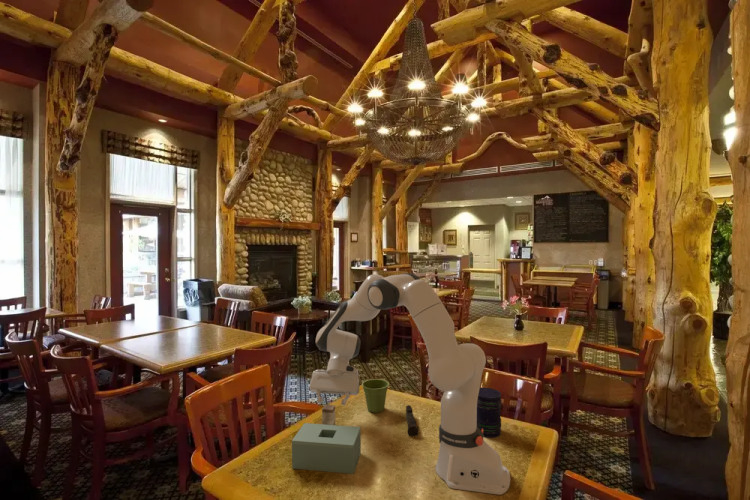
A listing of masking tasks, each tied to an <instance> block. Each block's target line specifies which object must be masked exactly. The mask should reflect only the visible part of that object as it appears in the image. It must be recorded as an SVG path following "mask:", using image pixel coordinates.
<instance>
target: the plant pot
mask: <svg viewBox="0 0 750 500" xmlns="http://www.w3.org/2000/svg"><path fill="white" fill-rule="evenodd" d="M389 386H390V382H389V381H387V380H386V379H382V378H381V379H380V378H372V379H367V380H364V381H363V382H362V383H361V387H362V388H363V392H364V396H365V403H366V407H367V408H366V409H367V411H368V412H370V413H371V412H372V413H375V414H377V413H381V412H383V411H385V405H386V399H387V392H388V387H389Z"/></svg>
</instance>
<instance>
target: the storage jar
mask: <svg viewBox="0 0 750 500" xmlns="http://www.w3.org/2000/svg"><path fill="white" fill-rule="evenodd" d="M501 409H502V393H501V392H500V391H499V390H497V389H495V388H492V387H491V388H490V387H480V389H479V394H478V400H477V427H478V428H479V429H480V430H481V431H482V428H483V438H488V439H495V438H498V437H500V436H501V435H502V418H501Z"/></svg>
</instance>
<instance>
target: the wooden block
mask: <svg viewBox="0 0 750 500" xmlns="http://www.w3.org/2000/svg"><path fill="white" fill-rule="evenodd" d="M321 424H324V425H336V405H334V404H324V406H323V407H322V408H321Z"/></svg>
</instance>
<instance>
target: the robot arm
mask: <svg viewBox="0 0 750 500" xmlns="http://www.w3.org/2000/svg"><path fill="white" fill-rule="evenodd" d="M402 306H404V307H406V309H407V311H408V312H409V314H410V316H411V318H412V320H413V322H414V323H415V326H416V327H417V329H418V331H419V333H420V335H421V337H422V339H423V341H424V343H425V347H426V351H427V354H428V362H429V363H428V372H427V373H428V378H429V380H430V382H431V384H432V385H433V386H434V387H435V388H436V389H438V390H439V391H442V392H443V394H442V396H441V398H440V424H439V426H438V427H439V428H438V440H439V450H438V457H437V461H436V464H435V469H434V470H435V472H436V474H437V476H438V477H439V478H441V479H442V480H443V481H444V482H445V483H446V484H447V486H448V487H449V488H450V489H455V490H462V491H469V492H476V493H484V494H491V495H492V494H493V495H503V494H505V493H507V491H508V490H509V488H510V486H511V474H510V471H509V469H508V468H507V467H506V466H504V465H503V463H502V459H501V456H500V453H499V452H498V451H497V450H496V449H494V448H493V447H492V446H490V445H489V443H488V442H486V441H485V440H484V437H483V428H482V431H481V430H480V429H479V428H478V427H477V400H478V394H479V389H480V388H481V383H482V376H483V372H484V369H485V366H486V363H487V357H486V354H485V351H484V350H483V349H482V348H481V346H479V345H478V344H475V343H467V342H466V343H460V344H458V342H457V338H456V334H455V323H454V321H453V319H452V317H451V315H450V314H449V312H448V310H447V308H446V306H445V305H444V304H443V302H442V300H441V299H440V297H439V296H438V294H437V292H436V291H435V290H434V289H433V287H432V286H431V285H430V284H429V283H428V282H427V281H426V280H424V279H421V278H420V277H419V276H418V275H416V273H410V272H408V273H407V272H405V273H402V274H394V275H393V274H392V275H388V276H385V277H384V276H383V275H381V274H377V273H375V274H374V273H372V274H370V275H368V276H367V277H366V278H365V279H364V280H363V282H362V284H361V285H360V286H359V288H358V290H357V291H356V294H355V295H354V296H353V297H352V298H350V299H348V300H345V301H342V303H341V304H339V306H338V307H337V308H336V310H334V312H333V313H332V314H331V316H330V317H329V319H328V320H327V321H326V323H325V324H324V325H323V326H322V327H321V328H320V329H319V330H318V331H317V333H316V337H315V346H316V347H317V348H318V350H319V351H322V352H328V353H329V355H330V356H329V357H330V358H329V360H328V362H327V366H326V369H316V370H314V371H313V372H312V374H311V380H310V382H309V386H308V387H309V390H310V391H311V393H316V395H317V398H318V399H317V404H320V405H321V404H323V402H324V399H323V397H321V396H322V394H332V395H333V394H334V395H344V396H345V397H344V398H341V403H340V404H341V405H342V406H346V404H347V401H348V399H349V398H351V397H350V396H357V395H359V393H360V379H359V372H358V369H357V368H356V367H354V366H352V365H350V360H352V359H354V358H355V357H357V356H358V355H359V353H360V350H361V344H362V343H361V342H362V341H361V338H360V337H359V335H357V334H355V333H352V332H349V331H345V330H341V329H338V327H339V326H340V325H341V324H342V323H344V322H351V321H353V322H355V321H356V322H366V321H372V320H373V319H374V318H376V316H378V314H379V313H380V311H381V310H382V311H383V310H386V311H387V310H390V309H395V308H397V307H402Z"/></svg>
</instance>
